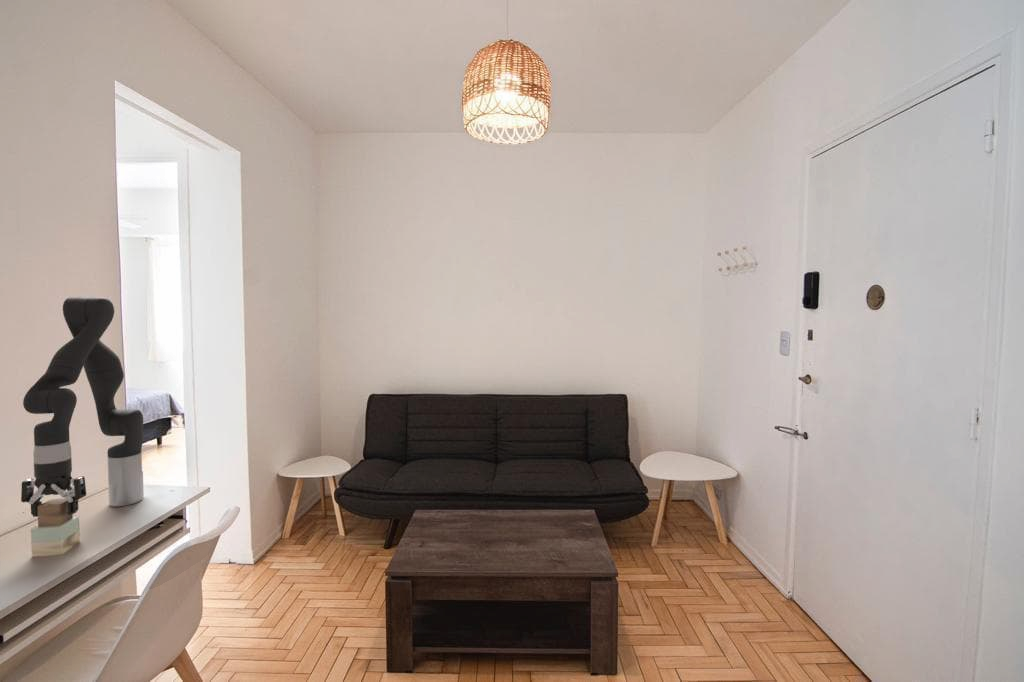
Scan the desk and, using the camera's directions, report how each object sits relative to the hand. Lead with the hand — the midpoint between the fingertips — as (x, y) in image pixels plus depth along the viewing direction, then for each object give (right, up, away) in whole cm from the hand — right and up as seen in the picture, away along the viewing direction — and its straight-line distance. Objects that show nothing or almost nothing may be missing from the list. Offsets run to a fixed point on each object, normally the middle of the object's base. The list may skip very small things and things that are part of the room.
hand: (55, 514), depth 130 cm
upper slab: (0, -6, 0) cm, 6 cm away
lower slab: (0, -10, +1) cm, 10 cm away
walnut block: (0, -2, 0) cm, 2 cm away
